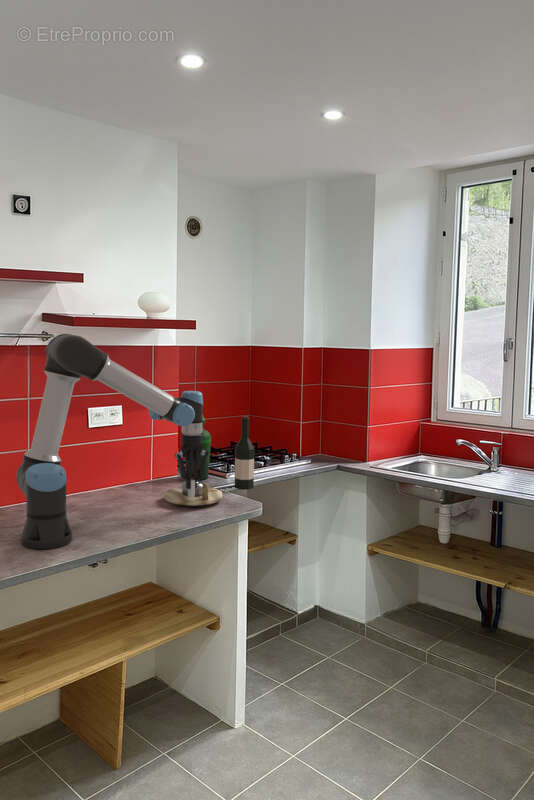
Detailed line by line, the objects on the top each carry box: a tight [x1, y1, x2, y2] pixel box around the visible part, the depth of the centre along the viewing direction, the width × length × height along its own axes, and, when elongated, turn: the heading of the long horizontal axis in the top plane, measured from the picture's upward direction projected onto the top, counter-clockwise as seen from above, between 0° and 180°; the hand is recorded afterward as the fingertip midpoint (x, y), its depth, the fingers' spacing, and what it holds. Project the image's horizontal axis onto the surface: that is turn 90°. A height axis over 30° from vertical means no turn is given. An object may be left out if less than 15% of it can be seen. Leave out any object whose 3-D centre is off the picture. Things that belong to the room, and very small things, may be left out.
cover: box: [181, 480, 206, 497], centre depth 250 cm, size 9×9×5 cm
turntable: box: [164, 482, 223, 506], centre depth 250 cm, size 22×22×8 cm
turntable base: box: [175, 503, 214, 508], centre depth 251 cm, size 16×16×1 cm
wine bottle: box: [234, 415, 255, 491], centre depth 272 cm, size 8×8×30 cm
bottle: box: [191, 415, 212, 481], centre depth 285 cm, size 11×11×28 cm
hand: (191, 496), depth 240 cm, fingers closed
